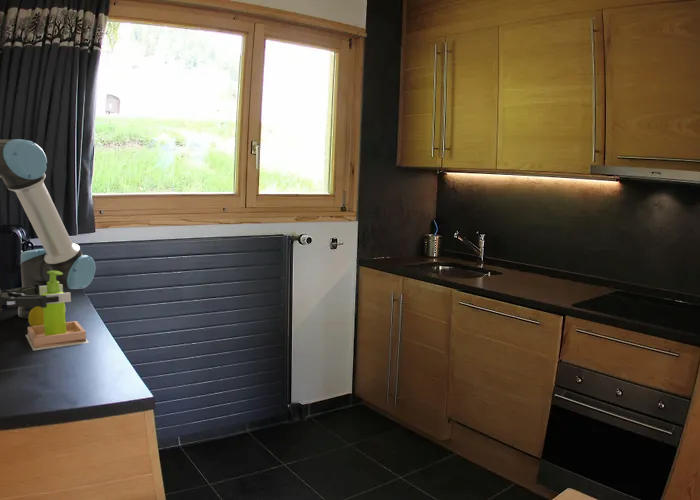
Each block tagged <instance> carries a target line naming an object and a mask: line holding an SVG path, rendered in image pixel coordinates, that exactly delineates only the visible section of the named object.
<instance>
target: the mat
mask: <svg viewBox="0 0 700 500" xmlns="http://www.w3.org/2000/svg"><path fill="white" fill-rule="evenodd" d="M25 337H26V339H27V341H28V344H29V345H30V347H31V349H32V351H39V350H47V349H48V350H49V349H56V348H61V347H62V348H63V347H68V346H77V345H82V344H89V343H90V341H89V340H88V339H87V338H86V341H84V342H77V343H70V344H62V345H55V346H48V347H41V348H34V347H33V345H32V343H31V341H30V339H29V337H28V334H25Z"/></svg>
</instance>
